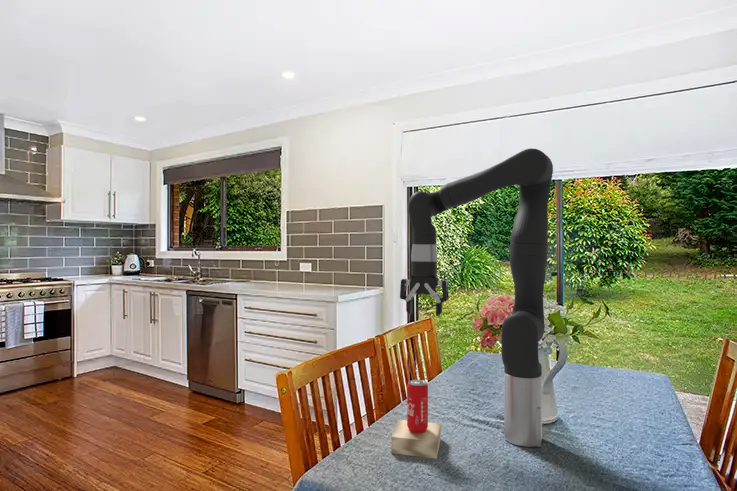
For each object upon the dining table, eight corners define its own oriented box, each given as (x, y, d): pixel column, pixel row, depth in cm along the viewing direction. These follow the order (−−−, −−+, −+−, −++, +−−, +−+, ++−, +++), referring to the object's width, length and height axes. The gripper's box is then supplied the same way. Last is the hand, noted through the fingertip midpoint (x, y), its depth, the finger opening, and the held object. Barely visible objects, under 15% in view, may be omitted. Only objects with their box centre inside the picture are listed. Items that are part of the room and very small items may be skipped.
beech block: (440, 439, 115) (440, 423, 115) (436, 458, 104) (436, 441, 104) (399, 434, 117) (399, 419, 117) (391, 453, 107) (391, 436, 107)
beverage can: (427, 435, 108) (427, 386, 108) (406, 433, 109) (406, 384, 109) (428, 426, 113) (428, 379, 113) (408, 425, 114) (408, 378, 114)
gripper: (451, 260, 130) (450, 314, 130) (405, 259, 136) (405, 311, 136) (444, 260, 124) (444, 318, 124) (397, 259, 129) (396, 315, 129)
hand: (423, 314), depth 130 cm, fingers open, 8 cm apart
